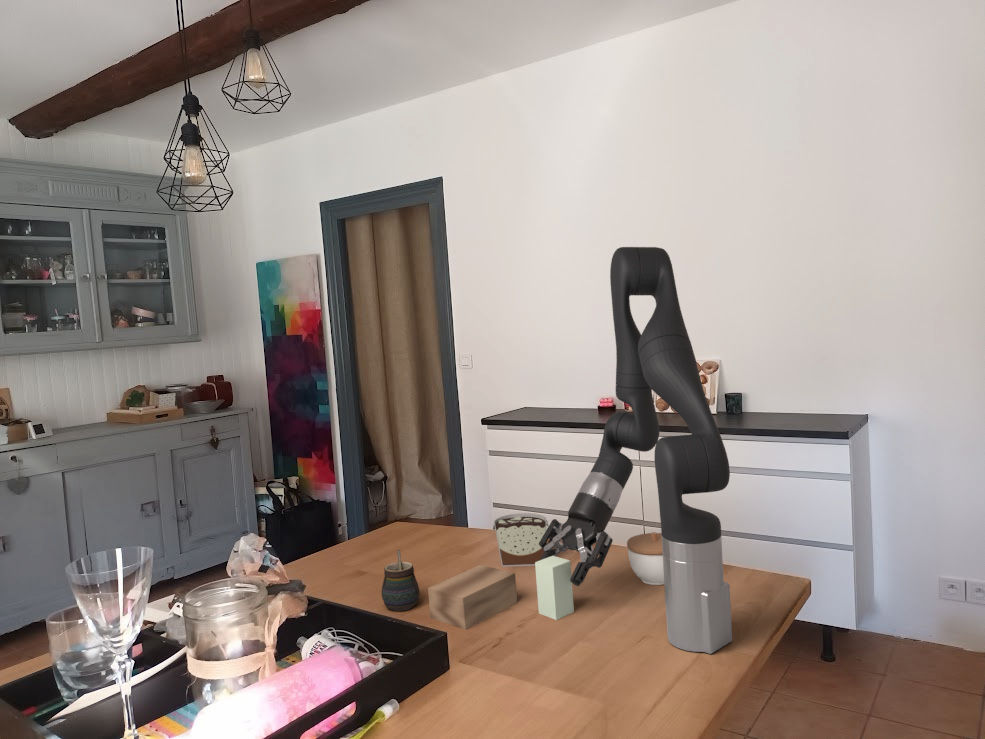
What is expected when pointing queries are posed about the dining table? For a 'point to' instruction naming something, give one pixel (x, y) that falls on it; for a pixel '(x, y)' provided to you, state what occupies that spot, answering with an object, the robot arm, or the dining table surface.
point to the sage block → (554, 587)
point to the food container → (520, 538)
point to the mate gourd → (400, 586)
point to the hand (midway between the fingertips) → (557, 578)
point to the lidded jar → (647, 557)
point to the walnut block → (472, 596)
